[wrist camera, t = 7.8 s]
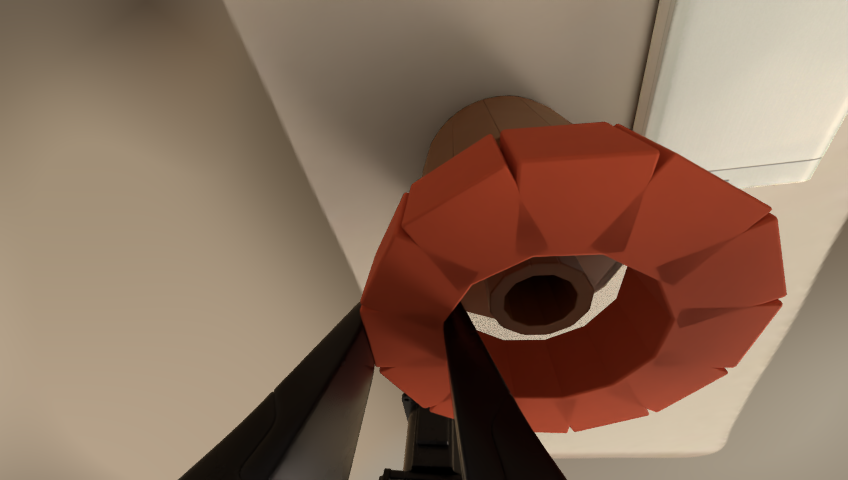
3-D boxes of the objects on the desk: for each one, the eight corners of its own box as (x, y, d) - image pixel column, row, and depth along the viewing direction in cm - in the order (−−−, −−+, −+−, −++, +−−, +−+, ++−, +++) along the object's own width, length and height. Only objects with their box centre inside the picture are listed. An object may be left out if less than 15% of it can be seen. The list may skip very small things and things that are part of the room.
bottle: (562, 231, 19) (649, 383, 11) (432, 238, 20) (419, 382, 12) (585, 86, 15) (765, 153, 6) (416, 104, 15) (378, 183, 7)
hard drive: (719, -173, 9) (632, 201, 16) (1073, -262, 8) (818, 183, 15) (684, -144, 11) (617, 188, 17) (981, -217, 9) (786, 170, 16)
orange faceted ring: (648, 375, 12) (684, 436, 10) (400, 374, 13) (392, 430, 11) (787, 106, 7) (918, 133, 5) (348, 140, 8) (317, 173, 6)
